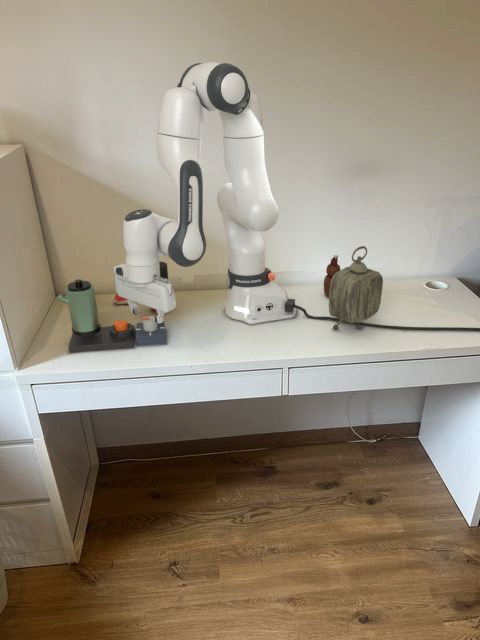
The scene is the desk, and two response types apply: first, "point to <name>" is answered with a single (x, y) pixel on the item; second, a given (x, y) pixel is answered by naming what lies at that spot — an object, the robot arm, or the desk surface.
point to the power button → (121, 325)
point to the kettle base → (103, 340)
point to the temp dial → (149, 324)
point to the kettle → (82, 308)
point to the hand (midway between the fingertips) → (147, 317)
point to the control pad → (150, 335)
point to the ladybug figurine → (120, 300)
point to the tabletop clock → (355, 292)
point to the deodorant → (162, 274)
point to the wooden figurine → (330, 274)
